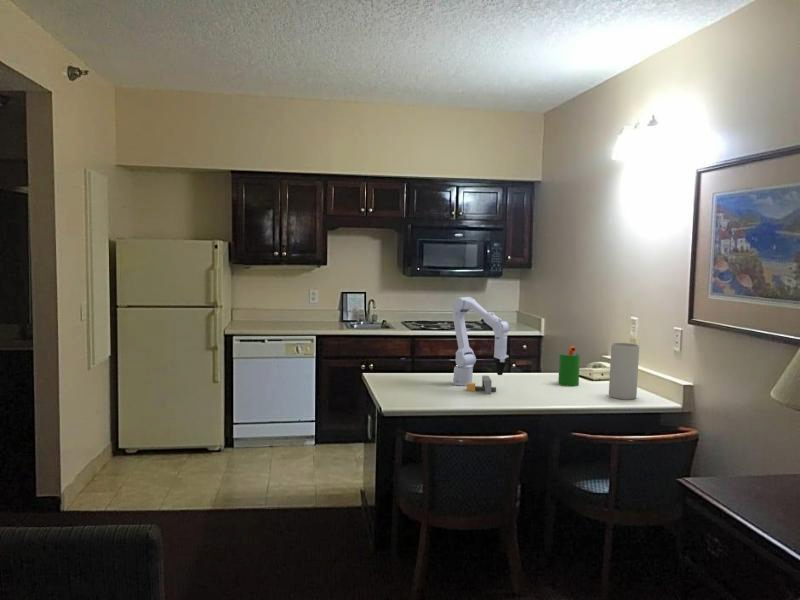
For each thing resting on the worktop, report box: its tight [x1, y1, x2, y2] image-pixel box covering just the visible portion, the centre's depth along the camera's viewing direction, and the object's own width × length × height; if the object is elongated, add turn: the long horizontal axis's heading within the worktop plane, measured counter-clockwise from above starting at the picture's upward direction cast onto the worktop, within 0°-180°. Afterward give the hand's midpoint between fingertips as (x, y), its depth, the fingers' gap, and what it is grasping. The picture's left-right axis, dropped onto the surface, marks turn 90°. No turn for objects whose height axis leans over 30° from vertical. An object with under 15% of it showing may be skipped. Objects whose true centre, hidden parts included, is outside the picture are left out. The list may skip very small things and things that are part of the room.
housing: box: [481, 375, 493, 395], centre depth 316 cm, size 3×12×6 cm, turn 0°
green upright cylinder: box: [557, 346, 581, 387], centre depth 336 cm, size 10×9×20 cm
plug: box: [466, 382, 497, 393], centre depth 317 cm, size 14×4×4 cm, turn 83°
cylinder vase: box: [608, 342, 640, 400], centre depth 310 cm, size 12×12×25 cm
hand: (499, 374), depth 315 cm, fingers open, 2 cm apart
